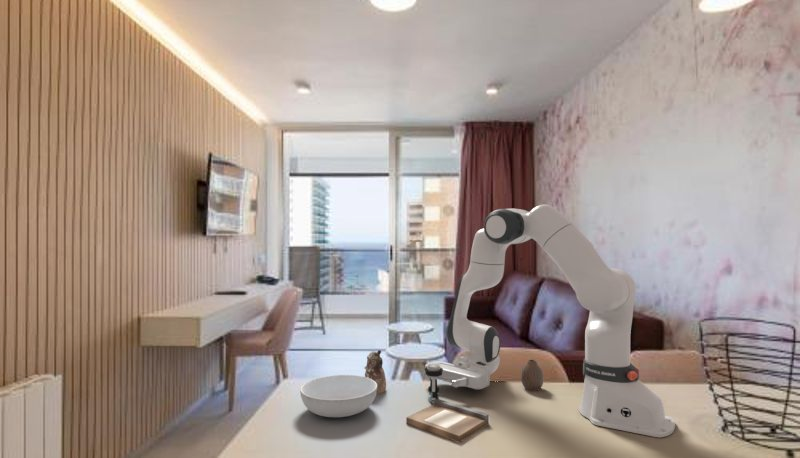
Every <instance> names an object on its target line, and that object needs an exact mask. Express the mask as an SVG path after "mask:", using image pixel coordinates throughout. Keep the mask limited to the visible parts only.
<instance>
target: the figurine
mask: <svg viewBox="0 0 800 458" xmlns="http://www.w3.org/2000/svg"><path fill="white" fill-rule="evenodd" d="M381 353H382V350H380V349H379V350H377V351H371V352H369V354H367V356H366V360H367V361H366V366H364V369H365V372H364V377H367V378H370V379H372V380H374V381H375V382H376V383H377V392H376V395H380V394H383V393H385V392H386V390H387V379H386V374H385V370H384V367H383V363H384V362H383V358H382V357H381V356H380V355H381Z"/></svg>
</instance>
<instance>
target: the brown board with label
mask: <svg viewBox="0 0 800 458" xmlns="http://www.w3.org/2000/svg"><path fill="white" fill-rule="evenodd" d="M405 420H406V421H405V422H406V424H408V425H411V426H412V427H413V426H414V427H416V428H419V429H421V430H424V431H427V432H429V433H432V434H436V435H438V436H441V437H444V438H446V439H448V440H451V441H454V442H457V443H461V442H462V441H463V440H466V439H467V438H468V437H470V436H472V435H474V434H475V433H477V432H478V431H480V430H481V429H483V428H485V427H486V426H488V425H489V423H490V422H489V421H490V419H489V413H486V412H483V411H479V410H476V409H473V408H469V407H465V406H462V405H461V404H460V405H459V404H456V403H453V402H449V401H446V400H443V399H436V400H434V403H432V404H431V405H430V406H428V407H427V406H426V407H425V408H423V409H421V410H419V411H417V412H414V413H412V414H411V415H407V416H406V419H405Z"/></svg>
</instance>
